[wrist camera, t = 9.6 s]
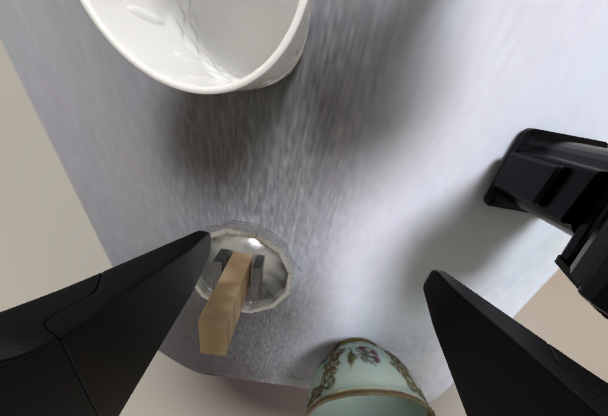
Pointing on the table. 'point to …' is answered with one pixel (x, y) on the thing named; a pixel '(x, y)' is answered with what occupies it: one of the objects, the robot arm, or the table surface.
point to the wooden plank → (225, 305)
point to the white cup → (206, 40)
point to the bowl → (364, 384)
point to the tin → (265, 263)
